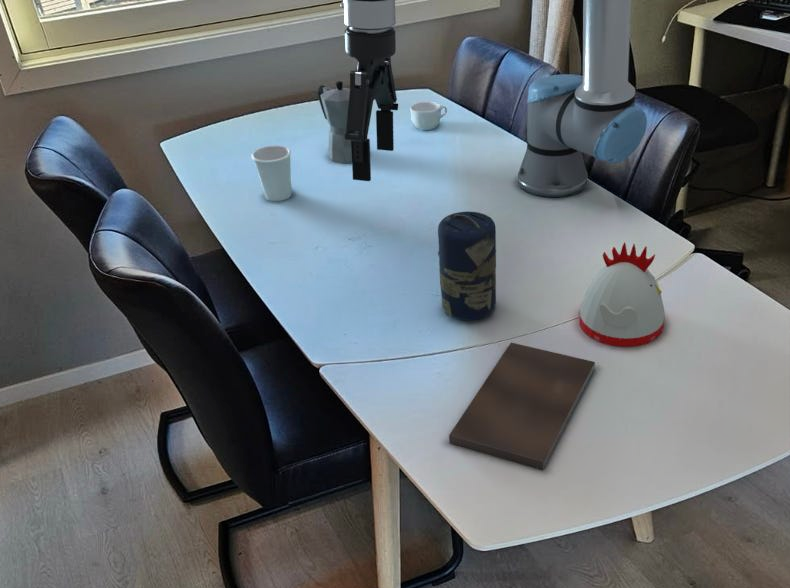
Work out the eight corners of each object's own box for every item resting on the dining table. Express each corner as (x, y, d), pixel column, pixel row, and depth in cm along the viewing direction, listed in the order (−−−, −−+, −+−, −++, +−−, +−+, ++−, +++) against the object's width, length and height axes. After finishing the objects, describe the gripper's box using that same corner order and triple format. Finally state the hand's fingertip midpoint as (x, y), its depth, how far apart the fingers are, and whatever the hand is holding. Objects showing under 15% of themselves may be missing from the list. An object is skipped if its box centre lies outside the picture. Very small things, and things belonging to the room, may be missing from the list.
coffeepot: (380, 156, 200) (373, 82, 189) (349, 169, 195) (340, 93, 184) (340, 140, 209) (331, 68, 199) (309, 152, 204) (299, 78, 193)
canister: (457, 330, 140) (453, 235, 130) (432, 303, 147) (426, 211, 137) (506, 314, 144) (506, 220, 133) (479, 288, 151) (477, 198, 140)
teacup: (420, 135, 210) (418, 114, 207) (406, 125, 216) (404, 105, 213) (454, 126, 214) (453, 106, 211) (440, 117, 219) (439, 97, 216)
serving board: (510, 349, 136) (510, 342, 135) (594, 369, 131) (595, 361, 130) (449, 443, 118) (448, 435, 117) (543, 469, 113) (543, 461, 112)
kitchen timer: (655, 353, 133) (667, 272, 124) (571, 338, 137) (576, 259, 129) (668, 307, 144) (679, 229, 135) (589, 294, 148) (595, 218, 139)
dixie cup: (293, 184, 189) (287, 142, 183) (300, 199, 183) (293, 156, 177) (256, 190, 187) (248, 148, 181) (262, 206, 181) (254, 163, 175)
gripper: (369, 8, 135) (373, 136, 146) (317, 45, 114) (327, 191, 126) (414, 11, 133) (414, 140, 145) (370, 49, 113) (375, 196, 125)
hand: (374, 164), depth 136 cm, fingers open, 13 cm apart
